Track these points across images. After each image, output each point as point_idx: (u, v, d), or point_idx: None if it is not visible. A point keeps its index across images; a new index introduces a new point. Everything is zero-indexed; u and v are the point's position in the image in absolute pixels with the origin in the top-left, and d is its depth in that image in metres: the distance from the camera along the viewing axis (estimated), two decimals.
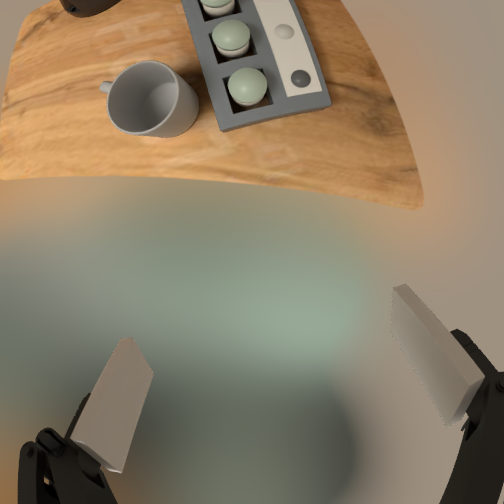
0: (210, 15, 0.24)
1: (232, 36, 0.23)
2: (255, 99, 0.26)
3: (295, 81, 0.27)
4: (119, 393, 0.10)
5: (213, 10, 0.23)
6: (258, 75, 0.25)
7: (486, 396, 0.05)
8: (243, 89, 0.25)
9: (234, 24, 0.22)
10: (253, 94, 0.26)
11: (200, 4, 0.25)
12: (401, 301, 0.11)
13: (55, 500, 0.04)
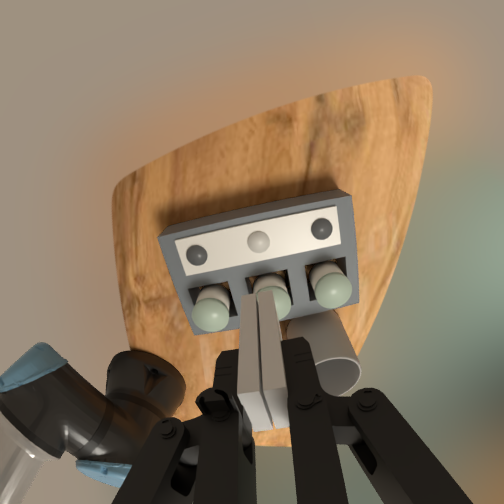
0: None
1: (275, 304, 0.29)
2: (350, 285, 0.29)
3: (325, 235, 0.29)
4: (261, 344, 0.11)
5: None
6: (326, 282, 0.28)
7: (289, 418, 0.07)
8: (338, 296, 0.29)
9: None
10: (345, 287, 0.29)
11: None
12: (259, 305, 0.13)
13: (175, 494, 0.06)
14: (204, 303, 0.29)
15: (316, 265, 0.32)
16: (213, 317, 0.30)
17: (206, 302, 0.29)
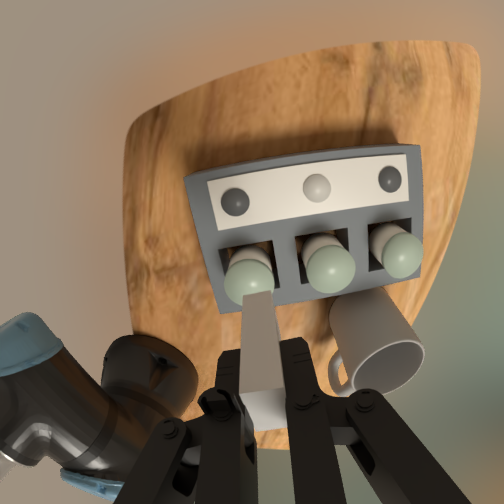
0: None
1: (336, 269, 0.22)
2: (421, 250, 0.21)
3: (393, 188, 0.22)
4: None
5: None
6: (397, 243, 0.21)
7: (286, 418, 0.07)
8: (408, 262, 0.22)
9: (317, 266, 0.22)
10: (416, 252, 0.21)
11: None
12: (257, 305, 0.13)
13: (176, 494, 0.06)
14: (243, 265, 0.22)
15: (378, 226, 0.25)
16: (253, 286, 0.23)
17: (246, 264, 0.22)
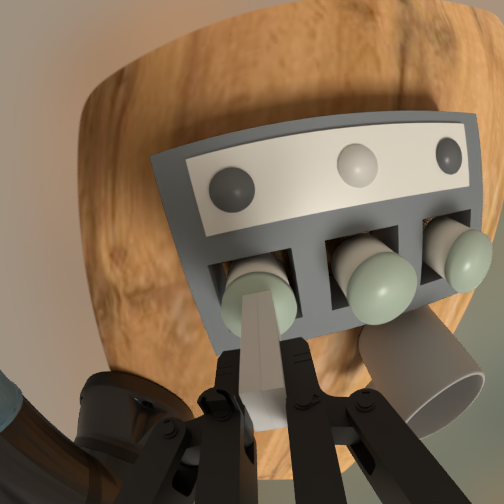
0: None
1: (392, 289, 0.13)
2: (490, 252, 0.13)
3: (454, 168, 0.13)
4: None
5: None
6: (468, 246, 0.12)
7: (287, 418, 0.07)
8: (476, 271, 0.13)
9: (365, 287, 0.13)
10: (485, 255, 0.13)
11: None
12: (257, 305, 0.13)
13: (176, 494, 0.06)
14: (250, 282, 0.14)
15: (432, 222, 0.16)
16: None
17: (254, 280, 0.14)
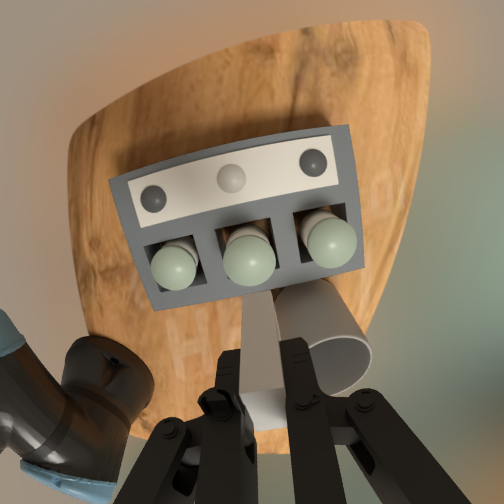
0: None
1: (254, 260, 0.22)
2: (354, 236, 0.21)
3: (318, 171, 0.22)
4: None
5: None
6: (322, 230, 0.21)
7: (286, 419, 0.07)
8: (339, 250, 0.22)
9: (232, 257, 0.22)
10: (348, 238, 0.21)
11: None
12: (257, 305, 0.13)
13: (176, 494, 0.06)
14: (165, 251, 0.23)
15: (308, 215, 0.25)
16: (176, 270, 0.24)
17: (167, 249, 0.23)
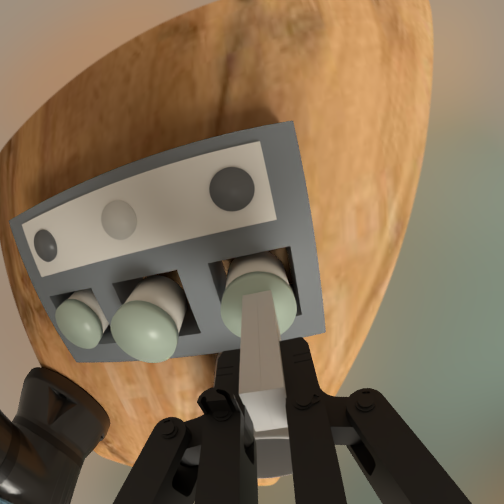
0: None
1: (147, 335, 0.15)
2: (292, 299, 0.15)
3: (240, 202, 0.14)
4: None
5: (107, 322, 0.19)
6: (238, 292, 0.14)
7: (287, 418, 0.07)
8: None
9: (120, 329, 0.14)
10: (281, 302, 0.15)
11: None
12: (257, 305, 0.13)
13: (176, 494, 0.06)
14: (64, 306, 0.16)
15: (236, 259, 0.18)
16: (80, 328, 0.17)
17: (65, 305, 0.16)
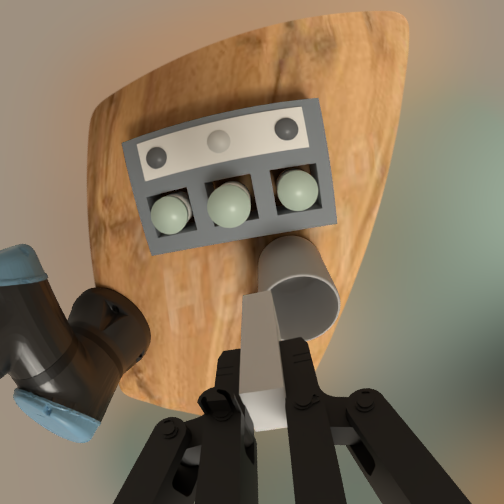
0: (190, 217, 0.32)
1: (232, 205, 0.26)
2: (315, 185, 0.27)
3: (290, 136, 0.26)
4: None
5: (189, 216, 0.30)
6: (288, 178, 0.27)
7: (286, 418, 0.07)
8: (302, 196, 0.27)
9: (214, 202, 0.26)
10: (310, 186, 0.27)
11: None
12: (257, 305, 0.13)
13: (176, 494, 0.06)
14: (163, 199, 0.28)
15: (282, 172, 0.30)
16: (171, 216, 0.29)
17: (165, 198, 0.28)
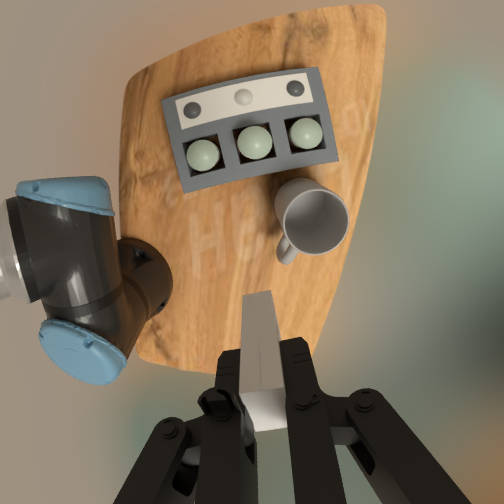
0: (217, 162, 0.38)
1: (258, 141, 0.31)
2: (320, 128, 0.33)
3: (299, 93, 0.31)
4: None
5: (218, 158, 0.36)
6: (299, 123, 0.32)
7: (286, 418, 0.07)
8: (311, 137, 0.33)
9: (243, 139, 0.31)
10: (316, 129, 0.33)
11: (193, 174, 0.38)
12: (257, 305, 0.13)
13: (176, 494, 0.06)
14: (198, 142, 0.33)
15: (292, 124, 0.36)
16: (205, 155, 0.34)
17: (200, 140, 0.33)
